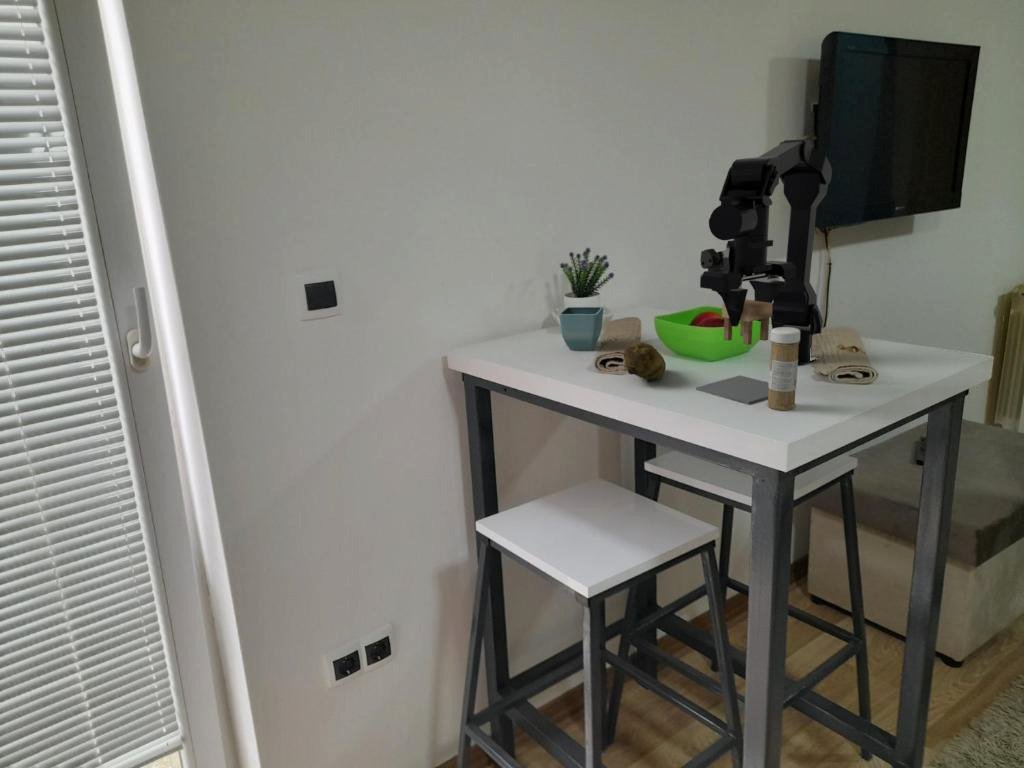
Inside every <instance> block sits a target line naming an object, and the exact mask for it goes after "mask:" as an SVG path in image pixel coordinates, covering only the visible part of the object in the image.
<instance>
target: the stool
mask: <svg viewBox="0 0 1024 768" xmlns="http://www.w3.org/2000/svg"><path fill="white" fill-rule="evenodd" d="M772 304H773V302H772V303H767V302H761V301H755V299H754V300H752V299H745V303H744V307H743V310H742V314H741V318H740V332H739V333H740V334H739V336H740V337H743V340H742V344H743V345H747V346H748V345H752V343H753V342H752V341H753V340H752V339H753V323H754V322H755V321H756V320H759V319H761V321H760V325H759V329H760V332H759V341H762V342H763V341H764V342H765V341H769V332H770V331H769V329H770V318H771V317H772ZM721 305H722V307H721V317H722V318H724V321H723V341H727V342H729V341H732V339H733V326H732V325H731V322H730V319H729V316H728V313H727V310H726V307H725V304H724V303H722V304H721Z"/></svg>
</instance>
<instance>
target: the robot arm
mask: <svg viewBox="0 0 1024 768" xmlns="http://www.w3.org/2000/svg"><path fill="white" fill-rule="evenodd" d="M832 175H833V170H832V166H831V163H830V161H829V159H828V157H827V155H826V154H825V153H823V152H821V151H820V150H819V149H816V148H815V147H813V145H812V143H811V141H810V140H808V139H807V138H806V139H805V138H801V139H786V140H783V141H780V143H779V144H778V145H777V146H774V147H773V148H772V149H770V150H768V151H767V152H764V153H762V155H759V156H756V157H746V158H744V157H743V158H739V159H735V160H733V162H732V163H731V166H730V167H729V169H728V171H727V174H726V177H725V180H724V183H723V185H722V189H721V191H720V194H719V197H718V198H719V199H718V201H719V202H720V205H718V206H717V207H716V208H714V210H713V211H712V213H711V214H710V217H709V218H708V227H709V231H710V232H711V234H712V236H714V237H715V238H716V239H718V240H721V241H727V242H726V244H725V245H726V246H725V247H726V248H725V249H724V250H722V251H721V250H720V251H716V250H715V248H708V249H704V250H702V251H701V253H700V260H699V261H700V266H701V268H702V269H704V270H705V271H703V273H701V275H700V277H699V278H700V279H699V288H701V289H707V290H711V291H712V292H716V293H717V295H719V296H720V297H721V299H722V301H723V304H725V307H726V310H727V313H728V316H729V319H730V322H731V325H732V327H735V328H736V327H739V324H740V322H741V320H740V318H741V314H742V310H743V307H744V303H745V299H746V298H747V294H748V291H749V289H748V288H743V282H747V281H748V282H749V284H750V285H751V287H752V289H753V291H754V301H761V302H767V303H773V304H772V317H770V319H771V321H770V322H771V330H772V329H774V328H778V327H791V328H796V329H799V330H800V341H799V345H798V366H799V365H804V364H807V363H809V362H808V361H810V348H811V347H812V346H813V344H812V343H813V336H815V335H819V334H822V330H823V329H822V328H823V323H824V320H823V317H822V314H821V311H820V308H819V305H818V304H817V303H818V302H817V300H818V298H817V296H818V295H817V294H816V293H817V292H816V291H815V289H814V287H813V286H812V284H811V282H810V281H811V273H812V272H811V268H812V260H813V259H812V257H813V250H814V239H815V230H816V229H815V228H816V218H817V217H816V216H817V208H818V206H819V205H820V203H821V202H822V201H823V199H824V198H825V197H826V195H827V194H828V189H829V184H831V181H832ZM780 181H781V183H782V184H783V196H784V197H785V200H787V202H788V204H789V206H790V211H789V213H790V216H789V223H788V224H789V225H788V235H787V236H788V238H787V249H786V259H785V260H786V261H782V260H768V248H769V247H774V240H773V239H769V224H770V223H769V222H770V206H772V205H773V200H772V199H771V196H773V194H774V191H775V190H776V187H777V186H779V184H780ZM780 278H782V280H780ZM783 280H784V281H783ZM755 321H756V322H761V319H759V320H755ZM811 349H812V348H811ZM806 362H807V363H806ZM803 363H804V364H803Z"/></svg>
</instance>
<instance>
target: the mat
mask: <svg viewBox="0 0 1024 768" xmlns="http://www.w3.org/2000/svg"><path fill="white" fill-rule="evenodd" d="M695 390H697V391H699V392H703V391H704V393H707V394H710V393H711V395H714V394H715V395H714V396H717V395H719V397H722V398H724V397H725V399H728V400H732V401H735V402H738V403H742V404H745V405H751V404H755V403H759V402H761V401H764V400H768V396H769V381H763V380H761V379H756V378H751V377H748V376H744V375H736V376H733V377H732V376H731V377H728V378H725V379H721V380H718V381H715V382H710V383H707V384H704V385H703V384H702V385H699V386H696V387H695Z"/></svg>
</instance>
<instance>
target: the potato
mask: <svg viewBox="0 0 1024 768" xmlns="http://www.w3.org/2000/svg"><path fill="white" fill-rule="evenodd" d="M623 361H624V366H625V368H626V369H627V372H628V374H629V375H634V376H637V377H639V378H643V379H645V380H652V381H653V380H658V379H659V378H661V377H662V376H663V375H664V374H665V371H666V367H667V366H666V362H665V359H664V357H663V355H661V353H660V352H658V350H657V348H655V347H654V346H653V345H651V344H649V343H647V342H641V341H640V342H634V343H631V344H630V345H628V346H627V347H625V349H624V352H623Z"/></svg>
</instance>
